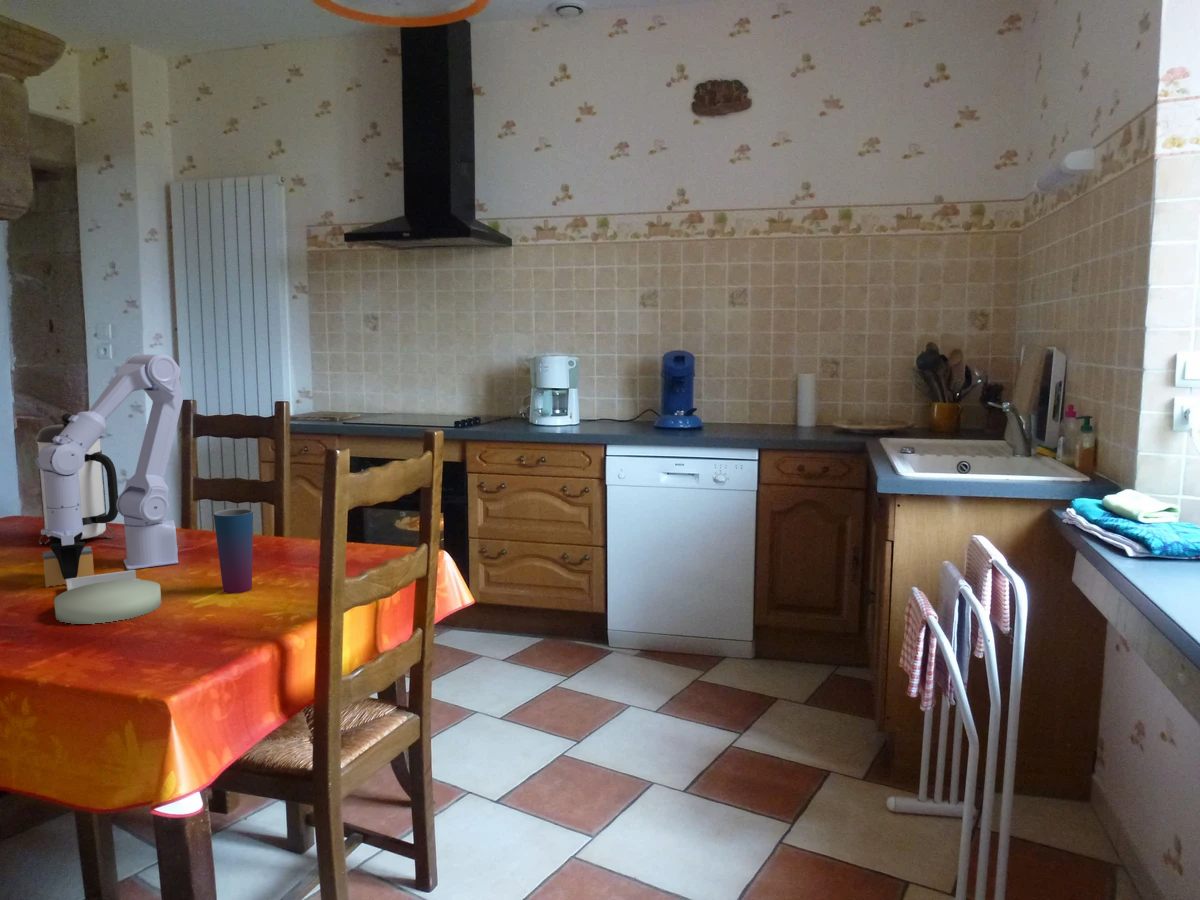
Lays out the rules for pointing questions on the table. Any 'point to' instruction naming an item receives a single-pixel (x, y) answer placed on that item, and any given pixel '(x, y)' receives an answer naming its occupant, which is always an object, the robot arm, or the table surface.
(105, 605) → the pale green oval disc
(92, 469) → the coffee press
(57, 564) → the rectangular flat-faced block
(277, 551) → the table surface
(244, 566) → the cup
